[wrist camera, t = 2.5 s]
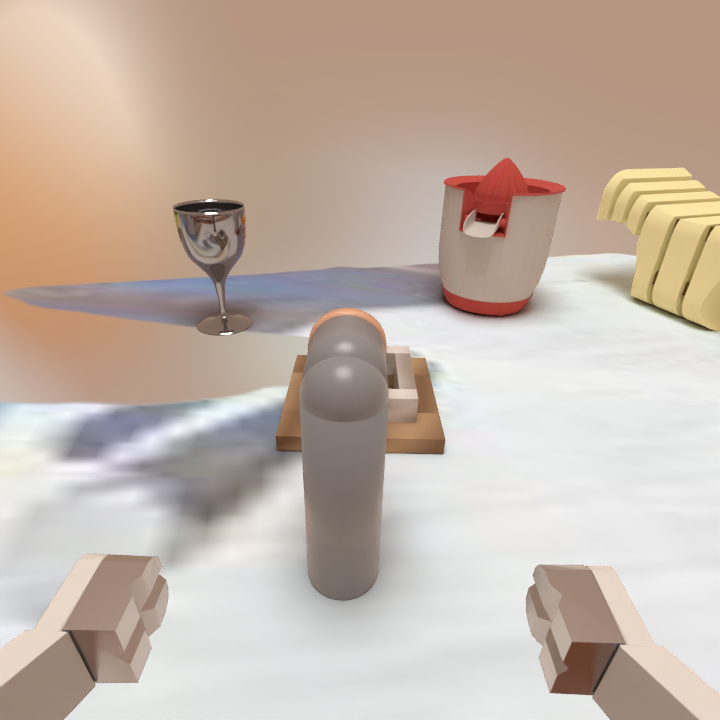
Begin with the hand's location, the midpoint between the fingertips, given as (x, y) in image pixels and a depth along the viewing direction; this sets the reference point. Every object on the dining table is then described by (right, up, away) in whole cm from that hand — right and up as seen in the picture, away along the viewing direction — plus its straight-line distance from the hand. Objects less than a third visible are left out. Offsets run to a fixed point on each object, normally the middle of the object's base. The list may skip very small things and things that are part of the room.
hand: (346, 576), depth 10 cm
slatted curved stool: (+50, +12, +59) cm, 78 cm away
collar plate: (0, 0, +35) cm, 35 cm away
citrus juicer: (+18, +13, +58) cm, 63 cm away
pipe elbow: (-1, -8, +20) cm, 22 cm away
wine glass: (-18, +9, +50) cm, 54 cm away
